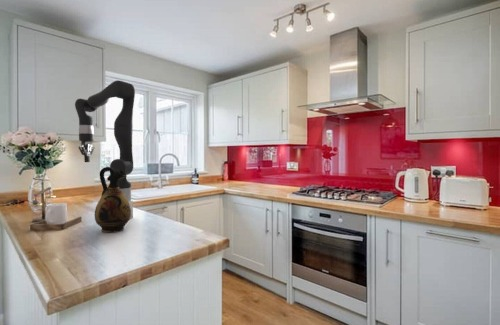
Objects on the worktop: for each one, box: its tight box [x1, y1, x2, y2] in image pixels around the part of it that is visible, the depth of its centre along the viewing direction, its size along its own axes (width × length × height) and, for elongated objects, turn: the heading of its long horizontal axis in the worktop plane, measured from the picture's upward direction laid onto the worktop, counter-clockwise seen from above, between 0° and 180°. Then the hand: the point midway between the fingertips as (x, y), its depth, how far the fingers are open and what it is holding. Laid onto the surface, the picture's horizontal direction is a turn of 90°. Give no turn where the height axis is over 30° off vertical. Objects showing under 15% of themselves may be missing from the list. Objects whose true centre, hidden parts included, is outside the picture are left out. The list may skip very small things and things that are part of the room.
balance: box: [28, 186, 57, 223], centre depth 143 cm, size 6×16×17 cm, turn 3°
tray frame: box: [29, 216, 82, 231], centre depth 132 cm, size 15×15×2 cm
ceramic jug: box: [94, 166, 131, 234], centre depth 124 cm, size 17×15×30 cm
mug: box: [45, 202, 68, 224], centre depth 132 cm, size 12×8×10 cm
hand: (87, 162), depth 157 cm, fingers closed
